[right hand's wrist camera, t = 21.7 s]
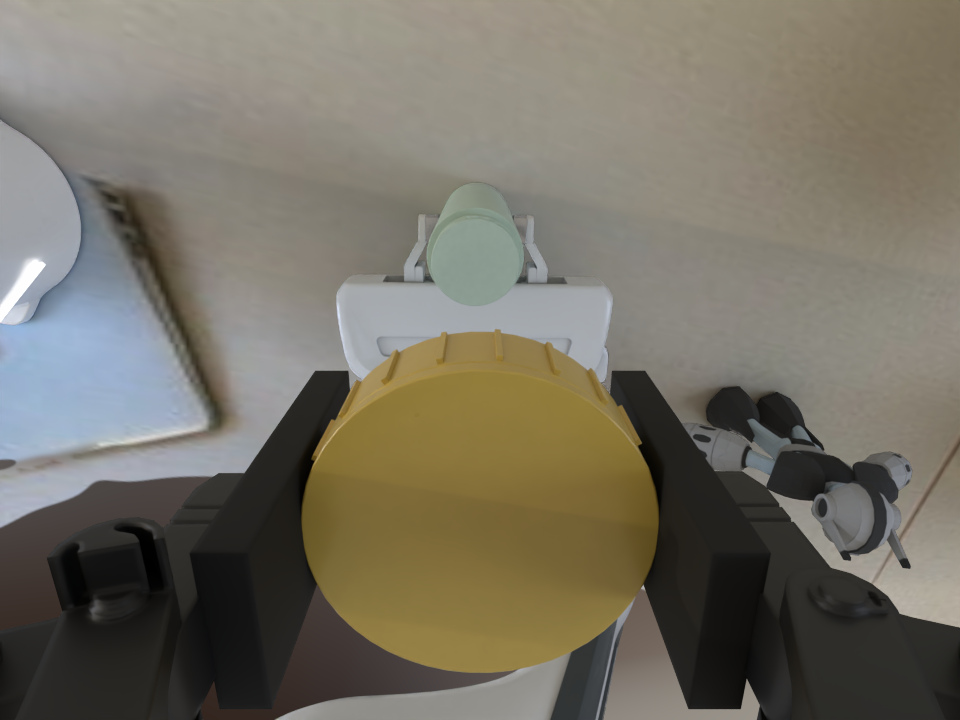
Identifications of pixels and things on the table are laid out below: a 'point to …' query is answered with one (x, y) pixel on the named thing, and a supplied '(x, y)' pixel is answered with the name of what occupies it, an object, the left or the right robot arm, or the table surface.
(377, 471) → the lid
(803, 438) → the robot
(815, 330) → the table surface
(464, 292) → the green thermos bottle
